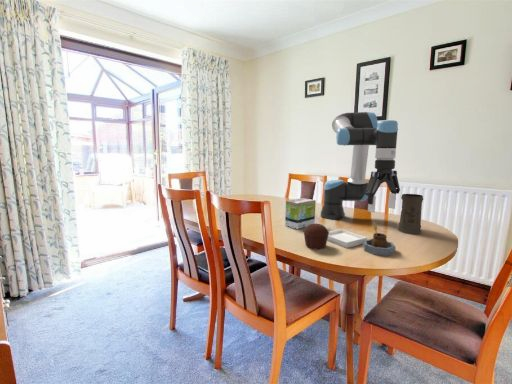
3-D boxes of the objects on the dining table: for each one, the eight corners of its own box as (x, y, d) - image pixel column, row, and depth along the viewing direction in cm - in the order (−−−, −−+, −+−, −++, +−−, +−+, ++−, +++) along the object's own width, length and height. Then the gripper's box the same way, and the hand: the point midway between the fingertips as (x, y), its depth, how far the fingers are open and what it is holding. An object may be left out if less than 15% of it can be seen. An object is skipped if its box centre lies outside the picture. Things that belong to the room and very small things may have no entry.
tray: (320, 238, 136) (320, 233, 136) (340, 233, 143) (340, 228, 143) (346, 248, 122) (346, 242, 122) (367, 242, 129) (367, 237, 129)
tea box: (298, 229, 150) (298, 203, 148) (284, 225, 157) (285, 200, 155) (315, 224, 160) (316, 199, 157) (301, 221, 167) (302, 197, 165)
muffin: (313, 240, 133) (314, 219, 132) (333, 246, 125) (334, 224, 123) (297, 245, 125) (298, 224, 124) (317, 252, 117) (318, 229, 116)
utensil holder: (379, 253, 116) (381, 226, 114) (367, 249, 121) (369, 222, 119) (389, 251, 118) (391, 224, 116) (377, 246, 124) (379, 220, 122)
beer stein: (424, 235, 140) (427, 195, 138) (401, 233, 142) (404, 195, 140) (413, 228, 155) (416, 193, 153) (393, 227, 157) (395, 192, 155)
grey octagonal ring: (357, 248, 122) (358, 242, 121) (375, 243, 128) (375, 237, 127) (382, 257, 112) (382, 250, 111) (400, 252, 118) (400, 245, 117)
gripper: (373, 160, 104) (370, 215, 107) (411, 159, 117) (407, 208, 120) (357, 159, 110) (354, 211, 114) (395, 158, 123) (391, 205, 126)
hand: (381, 210), depth 117 cm, fingers open, 13 cm apart
